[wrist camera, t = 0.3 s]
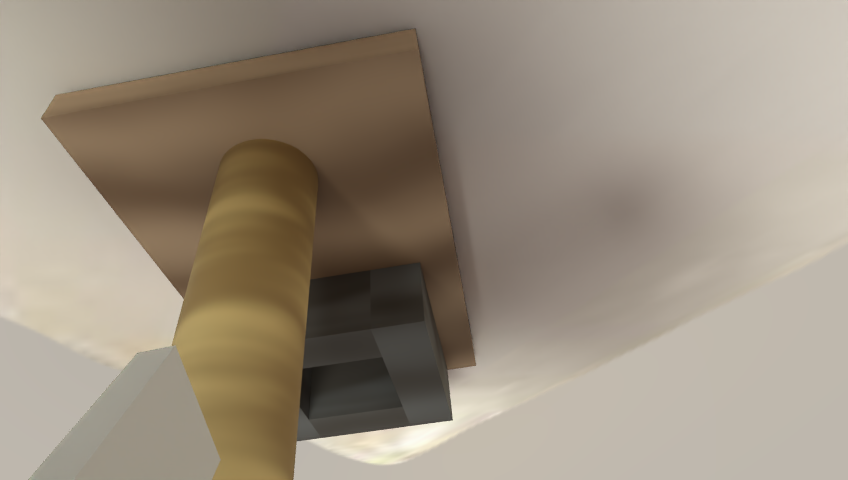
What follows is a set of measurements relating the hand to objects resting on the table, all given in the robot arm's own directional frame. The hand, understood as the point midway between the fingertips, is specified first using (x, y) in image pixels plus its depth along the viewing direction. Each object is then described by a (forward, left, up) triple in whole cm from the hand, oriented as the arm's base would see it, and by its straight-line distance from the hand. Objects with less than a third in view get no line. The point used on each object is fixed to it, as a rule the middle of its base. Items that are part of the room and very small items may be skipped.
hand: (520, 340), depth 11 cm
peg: (+5, -8, -13) cm, 16 cm away
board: (+12, -8, -14) cm, 20 cm away
